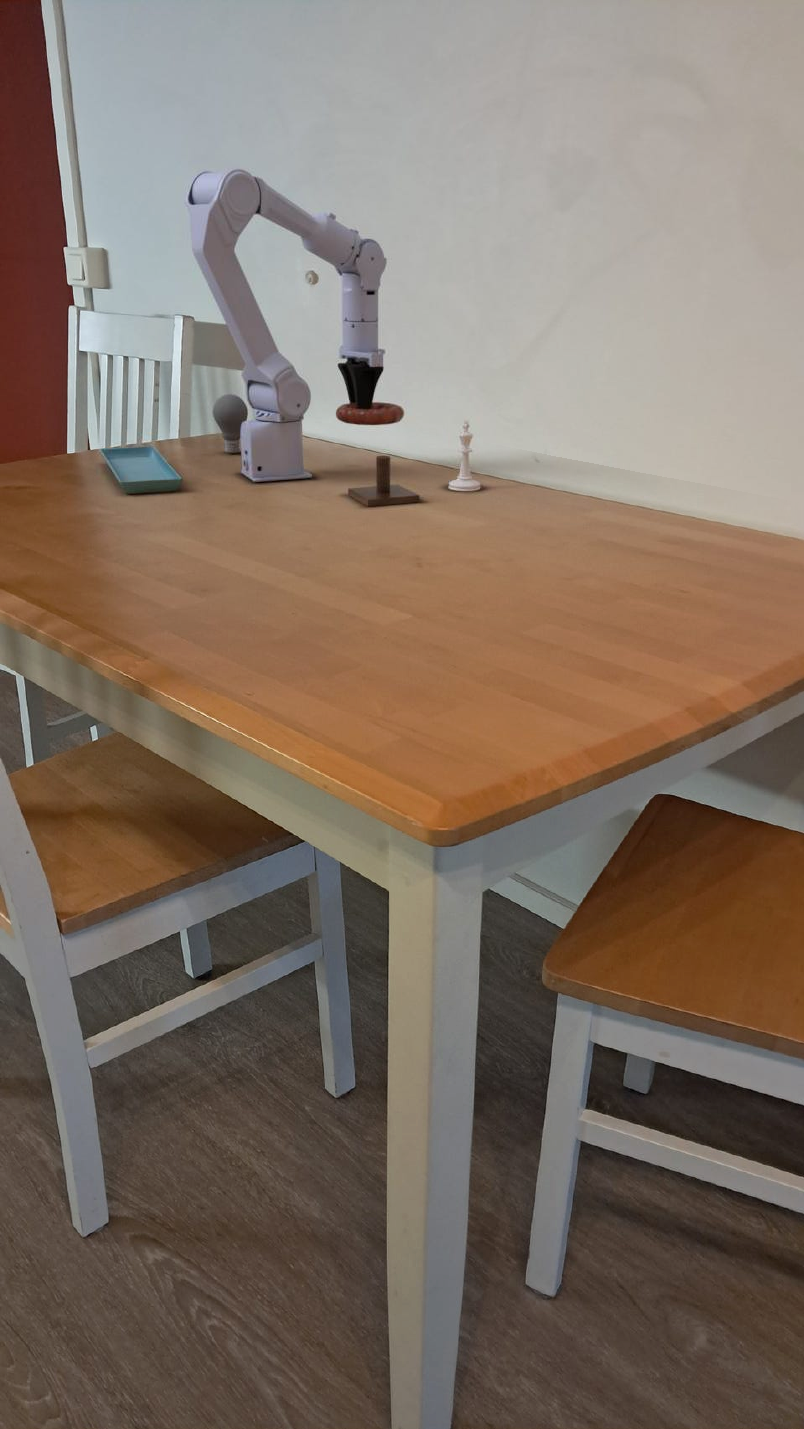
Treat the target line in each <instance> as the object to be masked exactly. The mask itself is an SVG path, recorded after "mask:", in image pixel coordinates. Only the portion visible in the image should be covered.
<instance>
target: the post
mask: <svg viewBox="0 0 804 1429" xmlns="http://www.w3.org/2000/svg"><path fill="white" fill-rule="evenodd" d="M375 458H376V462H375V464H376V467H375V469H376V471H375V473H376V474H375V475H376V478H375V479H376V480H375V482H376V484H375V486H363V487H361V486H360V487H350V488H347V495H348V496H349V497H351V498H352V499H354V500H356V501H357V502H359V503H360V504H363V505H364V506H366V507H377V506H389V505H390V506H391V505H401V504H410V503H411V504H413V503H420V494H418V493H416V492H414V491H412V490H410V489H408V488H406V487H404V486H402V485H400V484H391V456H390V455H378V456H376V457H375Z"/></svg>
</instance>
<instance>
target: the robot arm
mask: <svg viewBox="0 0 804 1429" xmlns="http://www.w3.org/2000/svg"><path fill="white" fill-rule="evenodd" d="M184 205H185V207H186V209H187V211H188V213H189V224H190V226H189V227H190V240H191V250H192V253H193V256H194V259H195V260H196V262H197V265H198V267H199V269H200V271H201V273H202V276H203V277H204V280H205V282H206V283H207V287H208V288H209V291H210V293H211V294H212V296H213V299H214V301H215V303H216V305H217V307H218V310H219V312H220V313H221V316H222V318H223V320H224V322H225V324H226V326H227V328H228V330H229V332H230V335H231V338H232V339H233V341H234V343H235V345H236V347H237V349H238V352H239V355H240V356H241V358H242V360H243V362H244V364H245V365H244V368H243V370H242V372H241V377H242V380H243V383H244V385H245V386H244V387H245V398H246V402H247V403H248V405H249V406H250V408H251V409H253V416H254V417H255V419H251V420H246V421H244V422H243V423H242V425H241V437H240V452H241V471H240V473H241V474H242V475H244V476H245V477H246V478H248V479H250V480H251V481H252V482H254V483H259V482H273V481H286V480H298V479H299V480H300V479H312V478H313V474H311V473H310V472H308V471H306V470H305V469H304V444H303V443H304V442H303V440H304V439H303V438H304V437H303V420H304V415H305V414H306V412H307V411H308V409H309V407H310V405H311V399H312V394H311V390H310V386H309V384H308V383H307V382H306V380H305V379H304V378H302V377H301V376H300V375H299V374H298V372H297V371H296V367H295V366H294V364H292V363H291V362H290V361H289V360H288V359H287V358H286V357H285V356H284V355H283V354H282V353H281V352H280V351H279V348H278V347H277V345H276V342H275V340H274V337H273V335H272V333H271V331H270V328H269V327H268V324H267V322H266V320H265V318H264V315H263V313H262V311H261V308H260V306H259V304H258V302H257V299H256V298H255V295H254V293H253V291H252V288H251V286H250V284H249V281H248V279H247V276H246V275H245V273H244V270H243V268H242V266H241V263H240V262H239V259H238V257H237V255H236V252H235V248H236V245H237V243H238V240H239V238H240V236H241V234H242V233H243V231H244V230H245V228H246V227H247V226H248V224H249V223H250V221H251V220H252V218H253V217H254V215H258V216H260V217H262V218H264V219H266V220H268V221H270V222H272V223H274V224H276V225H278V226H279V227H281V228H284V229H285V230H287V231H289V232H291V233H293V234H295V235H297V236H299V237H300V238H301V242H302V247H303V248H304V249H305V250H306V251H307V252H310V253H311V254H313V255H315V257H316V256H317V258H320V259H321V260H323V261H325V262H327V263H328V264H330V265H331V266H333V267H334V269H335V271H336V273H337V274H338V275H339V277H341V301H342V302H341V310H342V311H341V313H342V314H341V316H342V317H341V318H342V320H341V321H342V324H341V325H342V327H341V328H342V345H339V346H338V358H339V359H340V360H343V359H344V360H345V359H346V360H345V362H339V363H337V368H338V370H339V371H340V374H341V376H342V379H343V381H344V384H345V388H346V391H347V392H346V393H347V396H348V397H347V398H348V401H349V403H356V406H357V409H371V406H372V402H374V397H375V392H376V388H377V385H378V382H379V380H380V378H381V376H382V374H383V372H384V368H385V367H384V355H385V354H386V350H385V349H384V348H379V289H380V287H381V278H382V276H383V273H384V272H385V270H386V266H387V262H388V261H387V259H388V258H387V257H385V254H384V251H383V248H382V247H381V245H380V244H379V243H378V241H377V240H375V239H373V238H362V237H361V236H360V235H359V230H357V229H355V228H348V227H347V226H345V225H343V224H342V223H340V222H339V221H337V220H336V219H337V215H335V214H334V213H332V212H317V213H315V214H310V213H309V212H307V211H306V210H304V209H302V208H301V207H300V206H299V205H297V204H295V203H294V202H293V201H291V200H290V199H288V198H287V197H286V196H284V195H283V194H281V193H280V192H279V191H277V190H275V189H274V188H273V187H271V186H269V185H268V183H267V182H266V181H265V180H263V178H260V177H258V176H255V175H252V174H251V173H250V172H248V171H247V170H245V169H242V168H233V169H231V170H223V171H222V170H221V171H207V170H206V171H202V172H199V173H197V174H196V175H195V176H194V177H193V178H192V180H191V182H190V184H189V187H188V190H187V193H186V195H185V199H184Z"/></svg>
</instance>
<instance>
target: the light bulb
mask: <svg viewBox="0 0 804 1429" xmlns="http://www.w3.org/2000/svg"><path fill="white" fill-rule="evenodd" d="M212 415H213V419H214V421H215V423H216V424H217V426H218V427H219V430H220V432H221V436H222V438H223V440H224V446H225V447H224V451H225V452H226V453H228V454H230V455H235V454H237V453H238V452H241V447H240V445H241V442H240V441H241V425H242V423H243V422H244V421H248V416H249V410H248V406H247V404H246V403H245V401H244V400H243V399H242V398H241V397H240V396H238V395H235V394H231V393H227V394H223V395H221V396H220V397H219V398H218V399H217V400H216V401H215V402H214V405H213V407H212Z"/></svg>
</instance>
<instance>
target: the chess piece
mask: <svg viewBox="0 0 804 1429" xmlns="http://www.w3.org/2000/svg"><path fill="white" fill-rule="evenodd" d="M469 428H470V423H469V420H467V419H465V420H464V425H463V427H462V429H463V430H464V431H463V432H460V433H459V434H458V436H459V439H460V443H461V448H459V449H458V453H461V462H460V468H459V474H458V475H457V476H456V478H457V479H453V480H451V481H449V482H448V489H449V490H451V491H457V492H475V491H479V490H480V489H481V488H482V487H481V483H480V481H478V480H475V479H473V476H472V475H471V468H470V458H469V457H470V456H469V453H473V449H472V448H470V445H471V442H472V439H473V436H474V435H473V433H472V432H469Z"/></svg>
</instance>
